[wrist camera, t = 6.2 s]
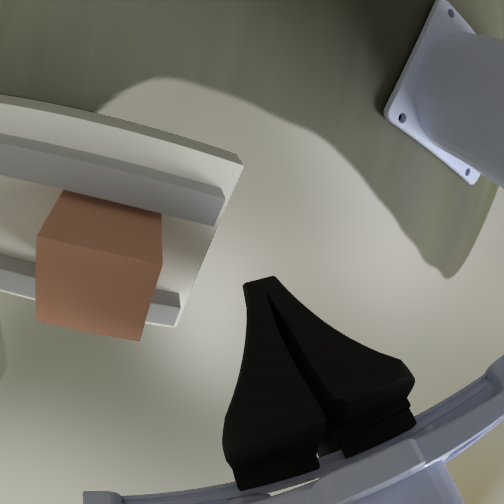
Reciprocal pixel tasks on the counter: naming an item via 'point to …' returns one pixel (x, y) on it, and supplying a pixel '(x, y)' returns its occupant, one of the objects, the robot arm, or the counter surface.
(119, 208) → the switch
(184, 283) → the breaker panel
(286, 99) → the counter surface
